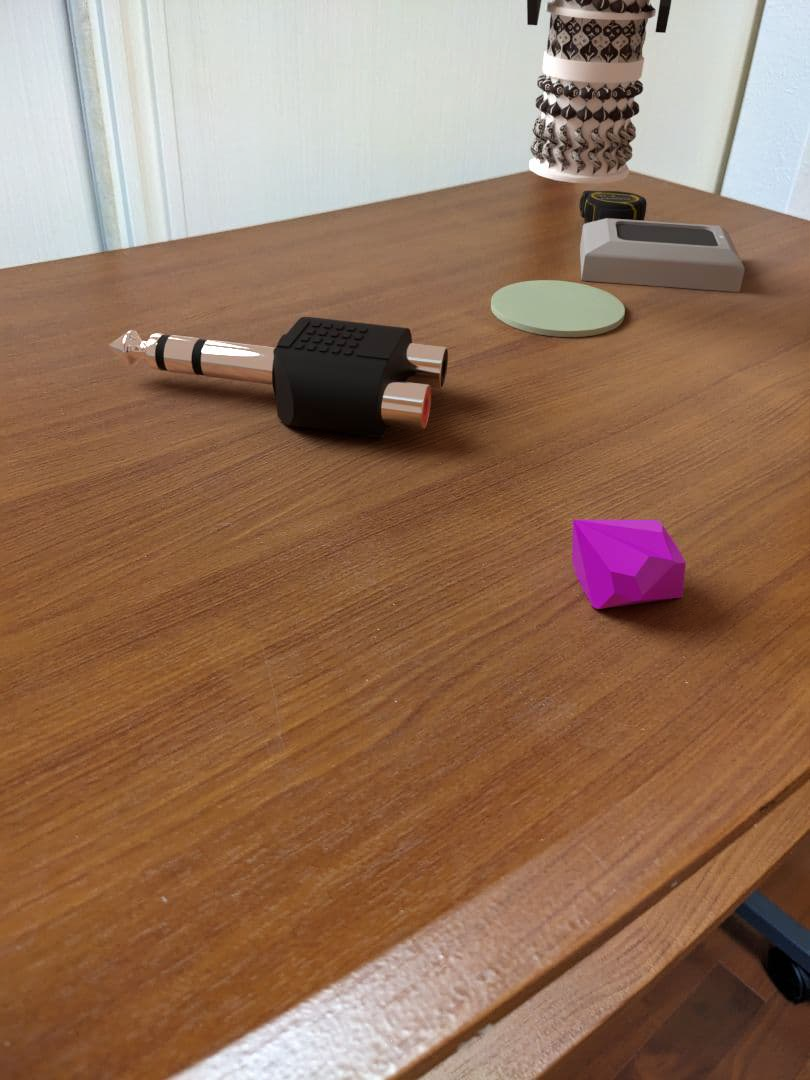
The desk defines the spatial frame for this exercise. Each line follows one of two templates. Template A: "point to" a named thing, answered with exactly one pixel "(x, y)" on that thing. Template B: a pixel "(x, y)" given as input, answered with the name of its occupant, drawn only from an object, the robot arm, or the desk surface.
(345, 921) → the desk surface
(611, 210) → the tape measure
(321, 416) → the audio adapter
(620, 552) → the crystal
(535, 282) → the coaster
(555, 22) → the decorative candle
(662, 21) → the robot arm
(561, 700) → the desk surface
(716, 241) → the grey device with screen
